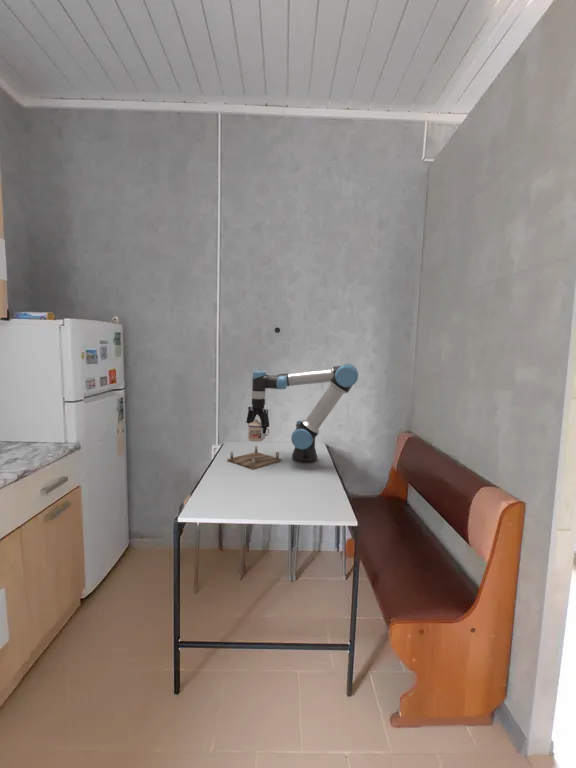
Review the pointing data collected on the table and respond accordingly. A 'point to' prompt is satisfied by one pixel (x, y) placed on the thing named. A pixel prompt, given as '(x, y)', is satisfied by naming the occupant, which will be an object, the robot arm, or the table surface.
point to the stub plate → (258, 460)
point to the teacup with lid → (255, 431)
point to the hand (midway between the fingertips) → (257, 437)
